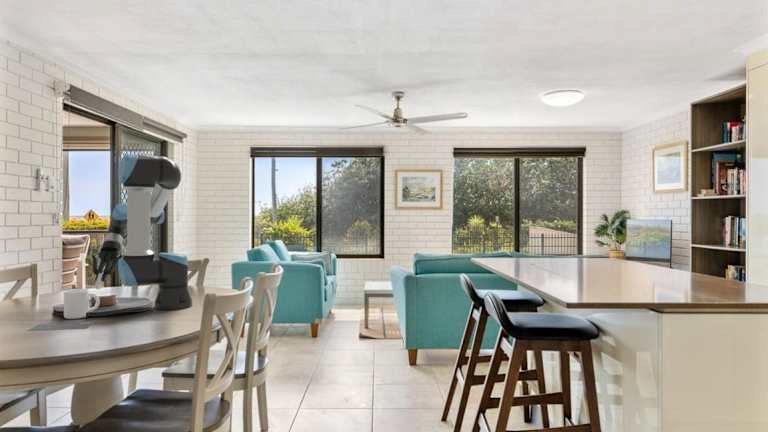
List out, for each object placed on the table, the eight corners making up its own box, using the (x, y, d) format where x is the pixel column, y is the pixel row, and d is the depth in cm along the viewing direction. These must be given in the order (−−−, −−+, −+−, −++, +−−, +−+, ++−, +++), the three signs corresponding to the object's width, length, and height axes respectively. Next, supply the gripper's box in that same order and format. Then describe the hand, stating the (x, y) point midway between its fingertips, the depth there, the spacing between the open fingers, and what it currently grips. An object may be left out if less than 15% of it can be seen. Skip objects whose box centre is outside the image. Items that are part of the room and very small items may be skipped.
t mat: (101, 320, 183) (101, 319, 183) (86, 329, 170) (86, 328, 170) (46, 322, 180) (46, 321, 180) (26, 332, 166) (26, 330, 166)
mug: (100, 312, 195) (99, 287, 195) (99, 316, 188) (99, 290, 188) (64, 315, 189) (64, 289, 189) (62, 320, 182) (62, 293, 182)
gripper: (129, 250, 225) (116, 291, 209) (99, 250, 223) (83, 292, 207) (125, 239, 220) (111, 281, 204) (94, 239, 217) (78, 282, 202)
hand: (97, 287), depth 205 cm, fingers closed
